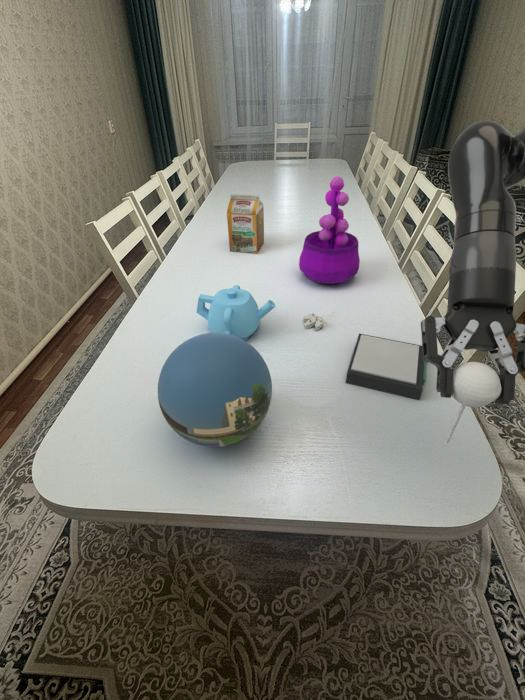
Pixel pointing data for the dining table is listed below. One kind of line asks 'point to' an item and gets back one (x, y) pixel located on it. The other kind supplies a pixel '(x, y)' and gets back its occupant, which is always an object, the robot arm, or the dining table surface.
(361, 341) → the scale
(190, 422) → the decorative sphere
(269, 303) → the teapot
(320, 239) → the decorative plant
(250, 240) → the milk carton
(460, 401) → the lollipop
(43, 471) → the dining table surface
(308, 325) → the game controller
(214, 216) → the dining table surface
